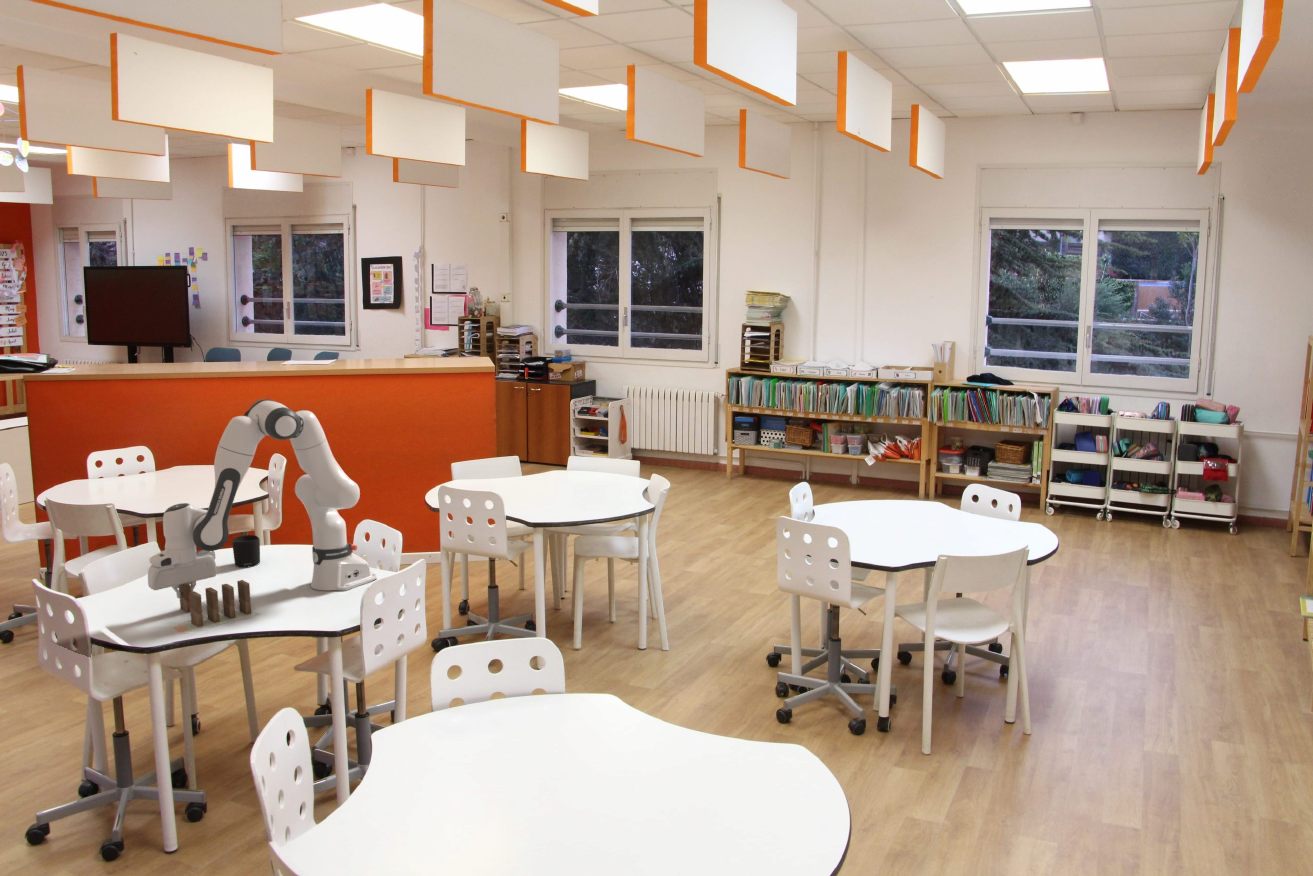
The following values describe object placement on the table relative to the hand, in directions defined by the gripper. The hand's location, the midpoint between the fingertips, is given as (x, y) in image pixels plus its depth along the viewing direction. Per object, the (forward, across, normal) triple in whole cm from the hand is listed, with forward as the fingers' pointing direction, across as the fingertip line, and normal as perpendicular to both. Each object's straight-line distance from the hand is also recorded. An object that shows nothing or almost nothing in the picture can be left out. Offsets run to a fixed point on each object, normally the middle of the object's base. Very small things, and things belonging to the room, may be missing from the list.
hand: (185, 596), depth 309 cm
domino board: (+6, -3, +15) cm, 16 cm away
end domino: (+5, 0, 0) cm, 5 cm away
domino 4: (+5, -12, +15) cm, 20 cm away
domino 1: (+5, +3, +15) cm, 16 cm away
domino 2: (+5, -2, +15) cm, 16 cm away
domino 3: (+5, -7, +15) cm, 17 cm away
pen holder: (+6, -37, -37) cm, 52 cm away
